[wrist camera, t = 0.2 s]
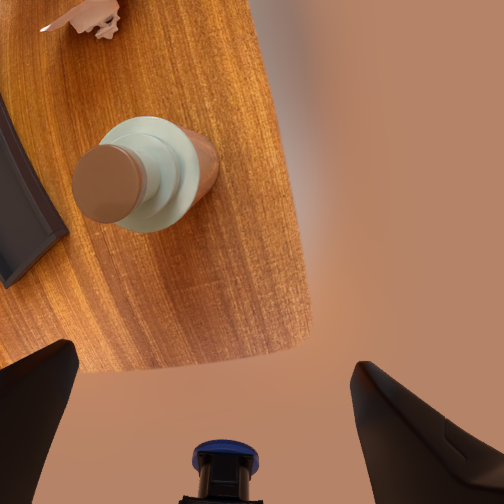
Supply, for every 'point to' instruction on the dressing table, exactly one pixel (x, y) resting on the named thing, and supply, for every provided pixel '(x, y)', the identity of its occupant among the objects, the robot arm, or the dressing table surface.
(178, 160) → the bottle
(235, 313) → the dressing table surface
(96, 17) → the pale pink ornate lid
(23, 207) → the tray
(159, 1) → the dressing table surface
